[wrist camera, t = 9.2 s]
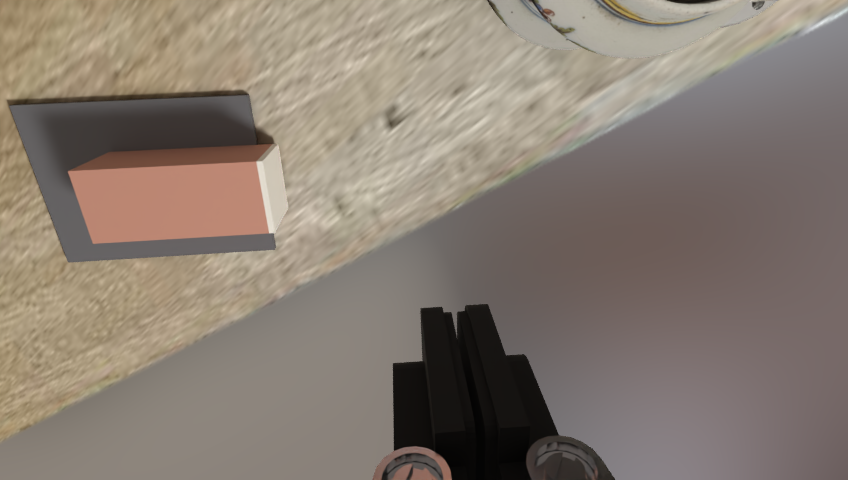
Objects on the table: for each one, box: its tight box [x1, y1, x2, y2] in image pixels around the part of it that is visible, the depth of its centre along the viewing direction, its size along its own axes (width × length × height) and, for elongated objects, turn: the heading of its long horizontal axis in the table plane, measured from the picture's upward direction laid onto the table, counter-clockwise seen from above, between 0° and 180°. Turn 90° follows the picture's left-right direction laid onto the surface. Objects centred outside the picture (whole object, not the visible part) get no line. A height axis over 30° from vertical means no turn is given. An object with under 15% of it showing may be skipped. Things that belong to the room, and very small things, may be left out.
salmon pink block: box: [68, 144, 288, 244], centre depth 34 cm, size 5×5×12 cm
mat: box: [9, 94, 276, 262], centre depth 36 cm, size 16×12×1 cm
